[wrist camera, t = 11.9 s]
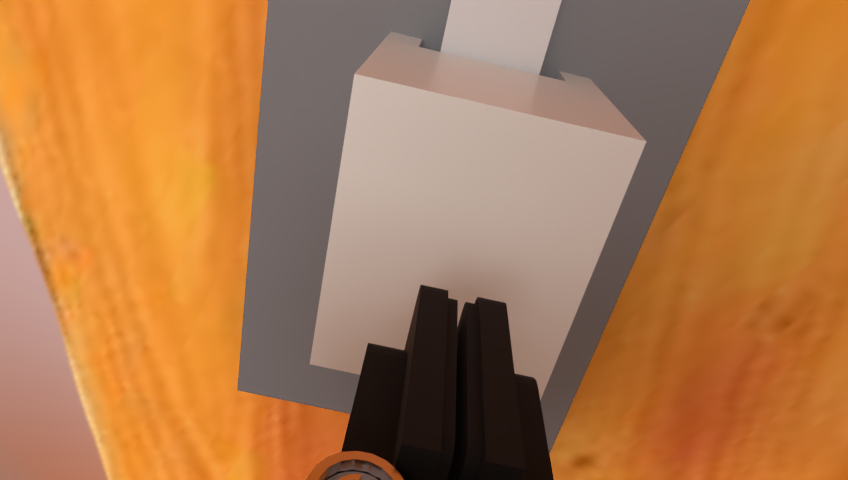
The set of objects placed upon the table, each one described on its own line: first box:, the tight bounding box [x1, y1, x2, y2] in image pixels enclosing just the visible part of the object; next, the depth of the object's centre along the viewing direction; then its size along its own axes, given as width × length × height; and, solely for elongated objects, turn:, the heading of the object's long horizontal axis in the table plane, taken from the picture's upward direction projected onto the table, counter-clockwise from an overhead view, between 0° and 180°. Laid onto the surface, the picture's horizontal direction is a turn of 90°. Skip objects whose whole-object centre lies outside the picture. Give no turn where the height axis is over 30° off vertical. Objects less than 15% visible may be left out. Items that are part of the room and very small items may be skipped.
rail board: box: [238, 0, 750, 453], centre depth 20 cm, size 14×24×3 cm, turn 168°
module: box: [310, 32, 646, 400], centre depth 17 cm, size 6×8×6 cm
